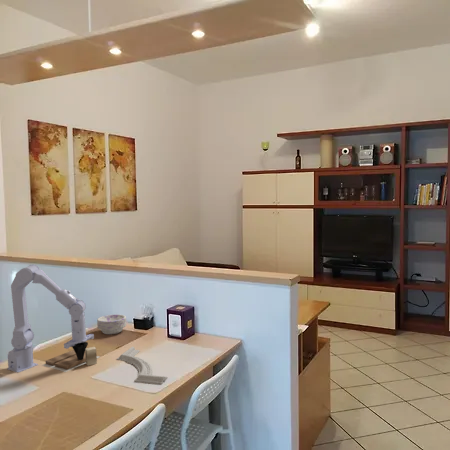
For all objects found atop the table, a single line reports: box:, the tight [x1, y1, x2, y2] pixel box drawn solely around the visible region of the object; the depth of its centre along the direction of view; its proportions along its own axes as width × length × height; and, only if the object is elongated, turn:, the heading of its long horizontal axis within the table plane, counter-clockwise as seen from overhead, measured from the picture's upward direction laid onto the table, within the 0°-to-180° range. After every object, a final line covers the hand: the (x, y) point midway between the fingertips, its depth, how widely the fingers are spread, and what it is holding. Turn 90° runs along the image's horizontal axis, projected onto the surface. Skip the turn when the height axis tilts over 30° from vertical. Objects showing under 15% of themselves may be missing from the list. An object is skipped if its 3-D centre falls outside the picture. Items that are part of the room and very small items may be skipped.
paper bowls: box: [96, 314, 127, 335], centre depth 231 cm, size 15×15×8 cm
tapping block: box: [85, 346, 98, 366], centre depth 186 cm, size 7×4×3 cm
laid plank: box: [45, 349, 76, 366], centre depth 192 cm, size 16×5×2 cm, turn 149°
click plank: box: [55, 353, 98, 369], centre depth 188 cm, size 16×8×1 cm, turn 149°
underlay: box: [42, 355, 100, 373], centre depth 190 cm, size 19×16×1 cm
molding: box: [116, 346, 168, 385], centre depth 182 cm, size 42×12×3 cm, turn 29°
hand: (80, 359), depth 187 cm, fingers closed, pressing on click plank
